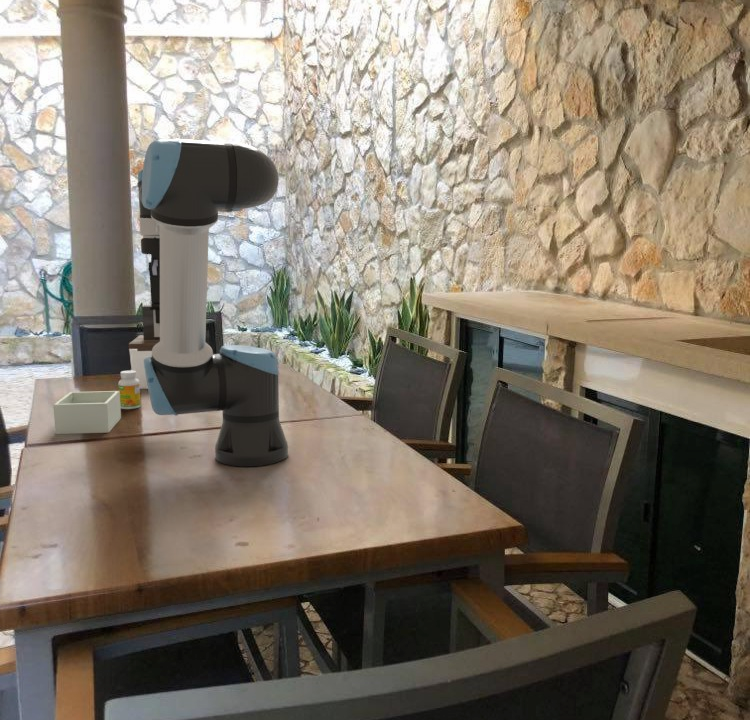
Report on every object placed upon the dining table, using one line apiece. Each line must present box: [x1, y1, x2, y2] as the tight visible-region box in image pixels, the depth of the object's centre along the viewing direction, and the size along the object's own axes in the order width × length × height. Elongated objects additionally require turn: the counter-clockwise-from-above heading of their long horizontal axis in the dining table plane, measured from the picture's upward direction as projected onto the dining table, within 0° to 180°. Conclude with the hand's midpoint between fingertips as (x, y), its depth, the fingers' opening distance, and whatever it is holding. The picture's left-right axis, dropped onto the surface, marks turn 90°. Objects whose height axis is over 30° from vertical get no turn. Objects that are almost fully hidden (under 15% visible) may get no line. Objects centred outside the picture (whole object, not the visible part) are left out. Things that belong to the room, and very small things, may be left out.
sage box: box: [53, 390, 122, 435], centre depth 181 cm, size 14×12×7 cm
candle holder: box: [128, 348, 152, 390], centre depth 228 cm, size 10×10×12 cm
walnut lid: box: [128, 304, 160, 351], centre depth 180 cm, size 15×13×10 cm
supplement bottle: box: [117, 369, 141, 410], centre depth 200 cm, size 5×5×10 cm
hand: (161, 335), depth 181 cm, fingers closed on walnut lid, 3 cm apart
